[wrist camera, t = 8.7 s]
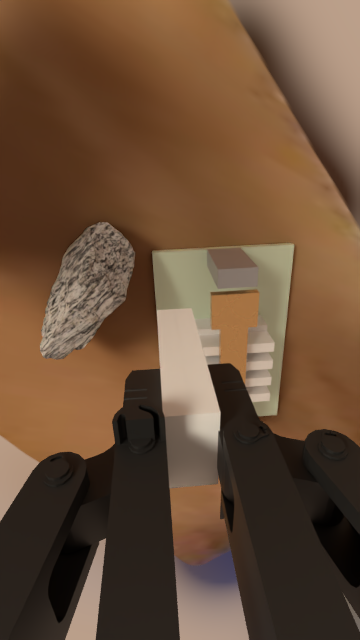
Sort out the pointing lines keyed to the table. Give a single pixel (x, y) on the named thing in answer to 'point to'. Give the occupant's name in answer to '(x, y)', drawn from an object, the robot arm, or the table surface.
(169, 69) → the table surface
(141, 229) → the table surface
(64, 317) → the rock
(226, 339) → the strap
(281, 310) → the heatsink board
